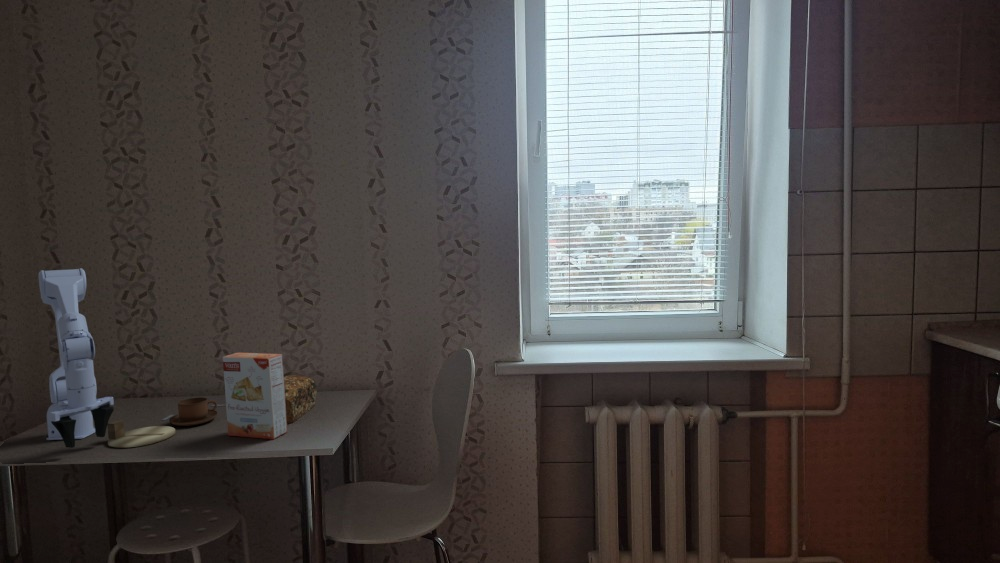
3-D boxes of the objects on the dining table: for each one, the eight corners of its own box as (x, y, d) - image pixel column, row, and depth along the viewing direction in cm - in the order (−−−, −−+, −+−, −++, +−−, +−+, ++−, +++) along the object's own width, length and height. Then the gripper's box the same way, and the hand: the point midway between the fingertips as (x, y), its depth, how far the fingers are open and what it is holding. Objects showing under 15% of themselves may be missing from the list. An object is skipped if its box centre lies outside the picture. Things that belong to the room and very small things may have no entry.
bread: (284, 405, 183) (282, 373, 182) (319, 405, 182) (317, 372, 181) (256, 425, 164) (253, 388, 163) (294, 424, 163) (291, 388, 163)
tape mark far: (211, 406, 184) (211, 405, 184) (212, 405, 185) (212, 405, 185) (227, 405, 184) (227, 405, 184) (228, 404, 185) (228, 404, 185)
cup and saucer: (201, 414, 177) (199, 393, 176) (226, 419, 171) (225, 397, 170) (160, 426, 167) (158, 404, 166) (186, 431, 160) (184, 409, 160)
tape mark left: (161, 420, 171) (161, 419, 171) (170, 415, 176) (170, 414, 176) (165, 420, 171) (165, 419, 171) (174, 415, 176) (174, 414, 176)
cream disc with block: (94, 448, 148) (92, 430, 148) (130, 429, 163) (129, 412, 163) (155, 446, 148) (154, 428, 148) (186, 427, 163) (185, 410, 163)
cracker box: (226, 437, 154) (220, 356, 153) (243, 429, 160) (237, 351, 158) (273, 440, 150) (267, 357, 149) (288, 432, 156) (283, 352, 154)
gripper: (62, 395, 138) (67, 453, 139) (120, 380, 151) (125, 433, 152) (40, 393, 140) (46, 450, 141) (100, 379, 154) (104, 431, 155)
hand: (85, 441), depth 147 cm, fingers open, 7 cm apart
